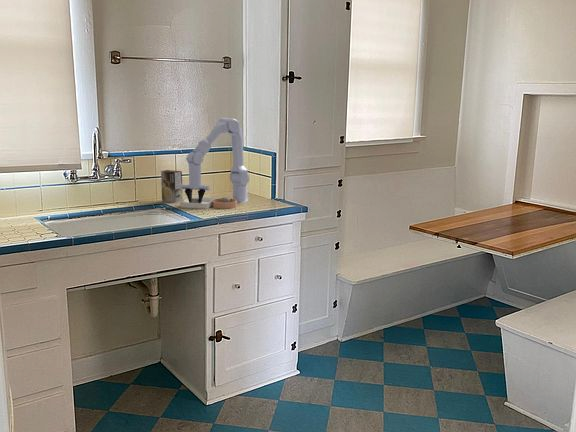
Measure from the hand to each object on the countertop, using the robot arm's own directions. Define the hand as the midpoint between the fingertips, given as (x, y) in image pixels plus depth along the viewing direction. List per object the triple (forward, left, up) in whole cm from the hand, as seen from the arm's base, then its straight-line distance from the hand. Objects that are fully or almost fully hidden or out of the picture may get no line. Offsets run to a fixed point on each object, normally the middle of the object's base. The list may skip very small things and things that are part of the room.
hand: (195, 204), depth 303 cm
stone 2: (-6, +14, -1) cm, 15 cm away
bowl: (-4, +14, -2) cm, 15 cm away
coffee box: (-11, -16, -2) cm, 19 cm away
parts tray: (-5, +1, -2) cm, 5 cm away
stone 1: (0, 0, -1) cm, 1 cm away
